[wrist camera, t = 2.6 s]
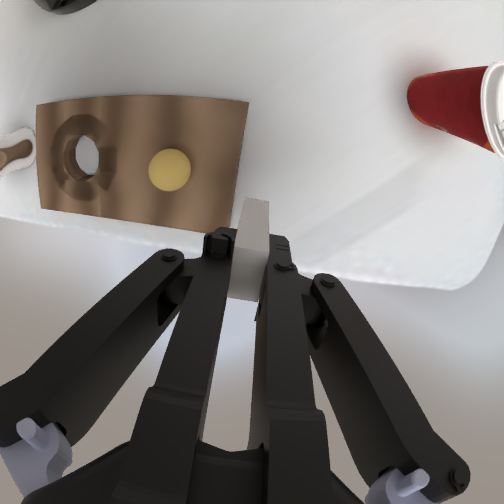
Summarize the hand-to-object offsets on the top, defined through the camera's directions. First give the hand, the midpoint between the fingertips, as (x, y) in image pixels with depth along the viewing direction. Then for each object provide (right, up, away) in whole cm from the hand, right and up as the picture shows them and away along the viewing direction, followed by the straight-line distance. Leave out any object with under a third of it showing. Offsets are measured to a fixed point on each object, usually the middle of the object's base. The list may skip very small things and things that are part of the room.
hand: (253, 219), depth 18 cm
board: (-14, +9, +10) cm, 19 cm away
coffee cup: (+20, +15, +4) cm, 25 cm away
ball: (-8, +5, +6) cm, 11 cm away
